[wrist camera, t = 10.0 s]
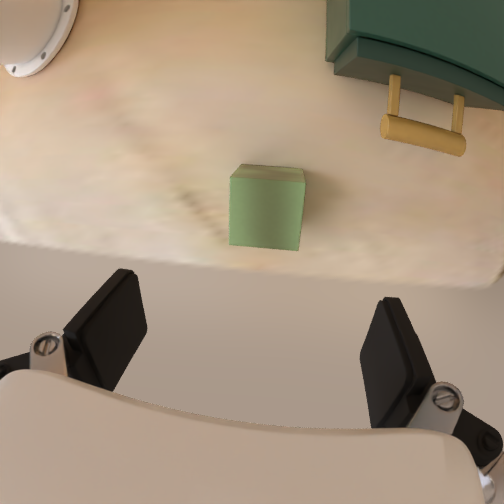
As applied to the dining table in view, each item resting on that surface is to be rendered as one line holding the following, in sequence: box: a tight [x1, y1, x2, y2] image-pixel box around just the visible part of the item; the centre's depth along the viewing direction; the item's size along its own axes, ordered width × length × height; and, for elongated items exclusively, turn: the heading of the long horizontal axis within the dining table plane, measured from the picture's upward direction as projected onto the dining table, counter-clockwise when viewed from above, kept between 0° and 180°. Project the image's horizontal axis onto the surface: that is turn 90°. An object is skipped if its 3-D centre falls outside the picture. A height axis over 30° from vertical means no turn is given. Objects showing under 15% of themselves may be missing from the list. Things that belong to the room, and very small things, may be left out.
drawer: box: [334, 36, 504, 157], centre depth 12 cm, size 18×11×8 cm, turn 177°
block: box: [229, 164, 306, 251], centre depth 22 cm, size 5×5×5 cm
